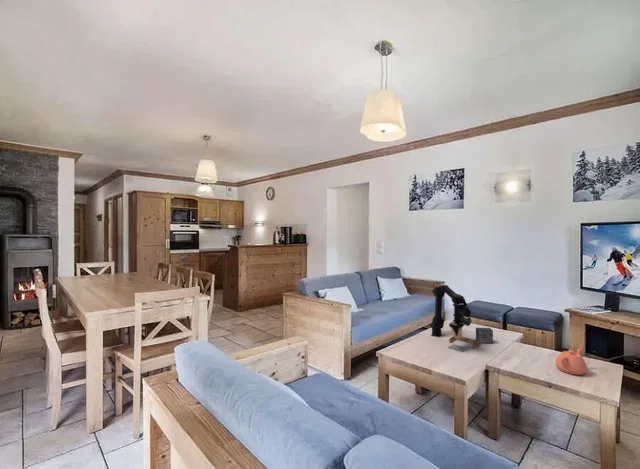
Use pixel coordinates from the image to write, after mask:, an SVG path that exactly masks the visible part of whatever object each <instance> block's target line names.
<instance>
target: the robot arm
mask: <svg viewBox="0 0 640 469" xmlns="http://www.w3.org/2000/svg"><path fill="white" fill-rule="evenodd" d="M432 292H433V293H432V294H433V296H434V297H435V303H434V304H435V305H434V306H435V307H434V316H433V318H432V320H431V323H430V324H429V327H430V328H431V335H430V336H433V337H437V338H440V337H442V335H443V334H442V332H443V331H442V329H443V328H444V325H445V319H444V318H443V315H442V313H443V310H442V308H443V298H444V297H445V294H446V295H447V296H448V297H449V298H451V302H452V303H453V304H452V306H453V315H452V316H453V320H452V322H450V323H449V324H448V326H449V328H451V327H452V328H453V330H454V332H455V335H456V336H458V331H459V328H461V327H462V328H464V326H467V327H469V326H471V323H472V318H471V315H472V311H471V310H470V309H469V307H468V303H467V302H466V299H465V297H464V296H463V295H461V294H458V293H456V292H455V291H454V290H453V289H452V288H450V287H449V285H448V284H445V285H443V284H442V285H440V286H436V287H433V290H432Z"/></svg>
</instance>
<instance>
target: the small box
mask: <svg viewBox="0 0 640 469" xmlns="http://www.w3.org/2000/svg"><path fill="white" fill-rule="evenodd" d="M475 340H479V341H480V345H481V344H485V345H486V344H490V345H494V330H493V329H492V328H491V327H475Z"/></svg>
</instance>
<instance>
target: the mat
mask: <svg viewBox="0 0 640 469" xmlns="http://www.w3.org/2000/svg"><path fill="white" fill-rule="evenodd" d="M448 349H450V350H454V351H458V352H462V353H465V352H466V351H467V350H468V349H469V347H465V346H461V345H457V344H451V345H449V346H448Z"/></svg>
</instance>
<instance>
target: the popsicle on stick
mask: <svg viewBox="0 0 640 469" xmlns="http://www.w3.org/2000/svg"><path fill="white" fill-rule="evenodd" d="M450 335H453V336H454V338H455V339H462V337H463V327H461V328H459V331H458V336H456V335H455V332H454V330H453V328H452V327H450Z"/></svg>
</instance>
